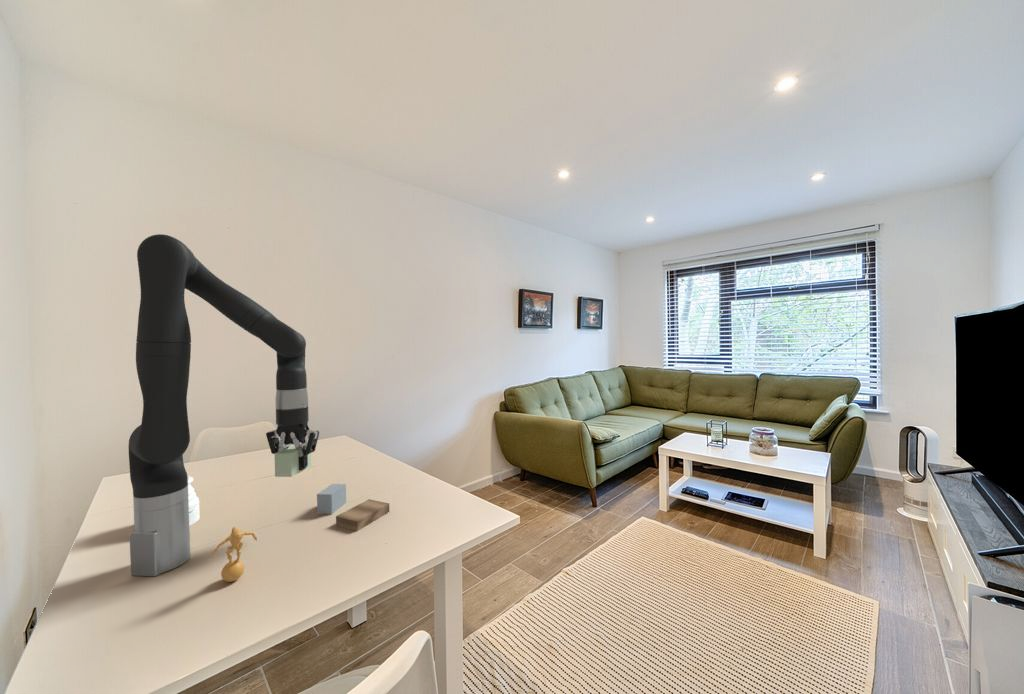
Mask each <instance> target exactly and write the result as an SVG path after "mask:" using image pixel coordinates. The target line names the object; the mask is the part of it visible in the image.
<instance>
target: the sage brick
mask: <svg viewBox="0 0 1024 694" xmlns="http://www.w3.org/2000/svg"><path fill="white" fill-rule="evenodd" d="M299 457H300V456H299V454H298V451H297V449H296V448H295V446H294V445H290V447H289V448H286V449H284V450H282V451H279V452H277V453H275V454H274V477H276V478H277V477H278V478H282V477H283V478H284V477H286V478H293V477H294V476H296V475H297V474H300V473H301V472H303V471H306V470H307V469H309V468H311V466H312V458H311V457H312V455H311V453H310V454H308V465H307V467H306V469H304V470H299Z"/></svg>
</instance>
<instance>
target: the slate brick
mask: <svg viewBox="0 0 1024 694" xmlns="http://www.w3.org/2000/svg"><path fill="white" fill-rule="evenodd" d="M346 503H347V484H346V483H331V484H330V485H328V486H327V487H325V488H323V490H321V491H320V492H318V493H316V505H317V506H316V507H317V508H316V509H317V511H316V513H317V515H333V514H335V512H337V511H338V510H339V509H341V508H342V507H343V506H344V505H345V504H346Z"/></svg>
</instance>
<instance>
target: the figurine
mask: <svg viewBox="0 0 1024 694" xmlns="http://www.w3.org/2000/svg"><path fill="white" fill-rule="evenodd" d="M243 536H252V537H253V540H255V541H256V542H257V541H258V537H257V536H256V534H255V532H254V531H242V530H240V529H239V528H238V527H237V526H234V527H232V528H231V533H230V535H229V536H227V537H226V538H225V539H224V540H222V541H221V542H220V543H219V544H218V545H217V546H216V548H214V550H213V551H212V552H211V555H210V556H209V559H210V560H211V559H212V556H213V555H214V554H215V553H216V552H218V550H219V548H220V547H221V546H223V545H225V544H226V543H228V542H230V544H231V546H230V545H229V546H228V547H226V548H227V550H226V552H225V554H226V555H227V560H228V562H227V563H226V564H225V565H224V566H223V568H222V569H221V572H220V574H221V579H222V580H223V581H224V582H228V583H231V582H234V581H237V580H238V579H240V578H241V576H242V575H244V572H245V564H244V563H243V562H242V561H241V560H240V556H241V551H240V550H241V549H242V547H243V545H244V543H243V541H242V539H243ZM234 550H236V556H237V557H236V559H234V560H233V559H232V558H233V556H232V555H231V554H232V553H233V552H234Z"/></svg>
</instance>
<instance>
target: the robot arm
mask: <svg viewBox="0 0 1024 694" xmlns="http://www.w3.org/2000/svg"><path fill="white" fill-rule="evenodd" d="M136 252H137V253H136V258H137V265H138V266H137V267H138V276H139V286H140V287H139V289H140V301H139V308H138V315H137V316H138V319H137V332H136V341H135V342H136V343H135V365H136V373H137V377H138V383H139V386H140V391H141V396H142V403H143V404H142V417H141V422H140V423H141V424H140V425H138V426H137V427H136V428H135V429H134V430H133V431H132V433H131V434H130V436H129V440H128V463H129V464H128V465H129V477H130V478H129V479H130V482H131V486H132V496H133V497H132V498H133V499H132V500H133V527H134V530H133V531H130V532H129V554H130V555H129V556H130V558H129V559H130V561H129V562H130V575H131V576H141V577H142V576H144V577H146V576H147V577H157V576H159V575H160V574H162V573H165V572H168V571H171V570H174V569H175V568H177V567H180V566H182V565H183V564H184V563H186V562H187V561H188V560H189V559H190V557H191V538H190V535H191V533H190V526H189V502H188V476H189V475H188V473H187V470H186V468H185V464H184V458H183V457H184V456H183V455H184V454H185V453H186V451H187V449H188V447H189V445H190V440H191V436H190V435H191V434H190V425H189V416H188V400H187V399H188V398H187V397H188V391H189V390H188V389H189V383H190V382H189V381H190V368H191V367H190V366H191V350H192V344H191V343H192V337H191V336H192V335H191V327H190V323H189V317H188V312H187V309H186V301H185V290H188V291H189V292H191V293H193V294H195V295H196V296H198V297H199V298H201V299H202V300H203V301H205V302H206V303H208V304H209V305H211V306H212V307H213V308H214V309H215V310H216V311H218V312H219V313H221V314H222V315H224V316H225V317H226V318H228V319H229V320H230V321H231V322H233V323H234V324H236V325H237V326H239V327H240V328H242V329H243V330H245V331H246V332H247V333H248V334H251V335H252V336H254V337H256V338H258V339H259V340H261V341H262V342H263V343H264V344H266V345H267V346H268V347H270V349H272V350H273V351H275V352H276V364H277V369H276V374H275V386H276V387H275V388H276V389H275V390H276V391H275V424H276V425H277V428H276V430H275V429H274V430H271V431H267V432H265V436H266V439H267V442H268V446H269V449H270V452H271V454H272V455H275V453H277V452H279V451H282V450H284V449H286V448H289V447H291V446H292V445H293V446H295V448H296V449H297V451H298V454H299V456H300V457H299V470H304V469H305V470H307V469H306V467H307V465H308V454H310V453H315V451H316V447H317V444H318V440H319V436H320V431H319V430H312V429H310V427H309V425H308V423H309V395H308V388H307V387H308V384H307V383H308V382H307V380H308V378H307V370H306V347H307V342H306V339H305V337H304V336H303V334H301V333H300V332H298V331H297V330H295V329H294V328H293V327H291V326H289V325H288V324H286V323H285V322H283V321H281V320H280V319H278V318H277V317H276V316H275V315H274V314H273V313H272V312H270V311H268V310H267V309H266V308H264V307H263V306H262V305H260V304H259V303H258V302H256V301H255V300H253V299H252V298H251V297H249V296H247V295H246V294H244V293H242V292H241V291H239V290H237V289H236V288H234V287H233V286H230V285H229V284H227V283H226V282H224V281H223V280H222V279H221V278H219V277H218V276H217V275H215V274H214V273H213V272H212V271H210V270H209V269H208V268H207V267H206V266H205V265H204V264H203V263H202V262H201V261H200V260H199V259H198V258H197V257H196V256H195V255H194V253H193V252H192V250H191V249H190V248H189V247H188V246H187V245H186V244H185V243H184V242H182V241H181V240H180V239H178V238H176V237H173V236H171V235H168V234H160V233H159V234H153V235H149V236H148V237H146V238H144V239H143V240H142V242H141V243H140V244H139V246H138V248H137V251H136ZM305 470H304V471H305Z"/></svg>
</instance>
